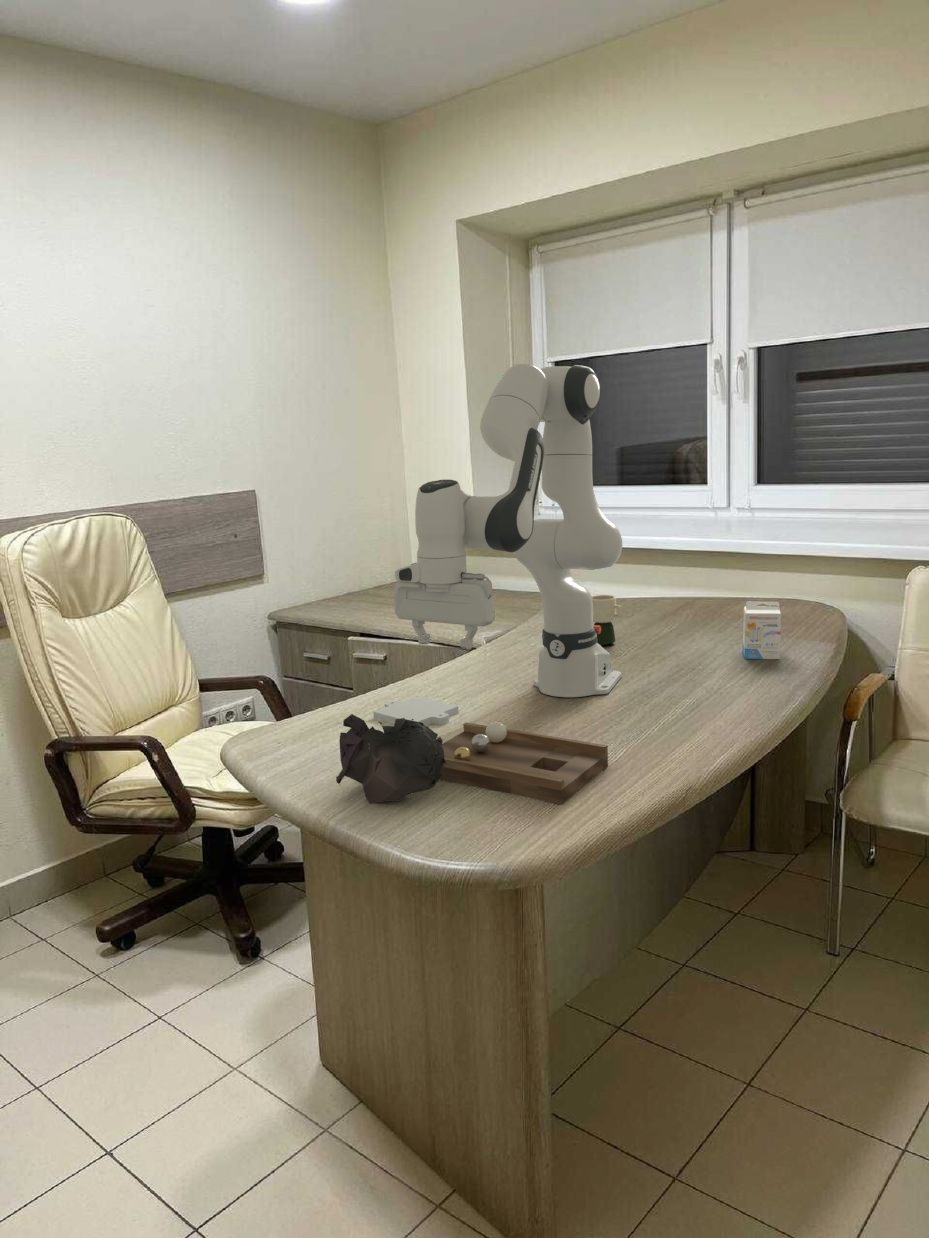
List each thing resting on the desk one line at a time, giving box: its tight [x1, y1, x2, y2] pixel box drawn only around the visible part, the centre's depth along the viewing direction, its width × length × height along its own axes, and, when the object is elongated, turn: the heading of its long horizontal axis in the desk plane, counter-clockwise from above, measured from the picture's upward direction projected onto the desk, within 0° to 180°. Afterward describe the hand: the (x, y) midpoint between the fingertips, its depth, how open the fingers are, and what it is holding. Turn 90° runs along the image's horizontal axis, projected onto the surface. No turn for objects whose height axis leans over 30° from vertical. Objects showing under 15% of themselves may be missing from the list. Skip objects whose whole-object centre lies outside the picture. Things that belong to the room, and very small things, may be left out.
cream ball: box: [485, 721, 507, 743], centre depth 170 cm, size 4×4×4 cm
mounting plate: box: [372, 695, 460, 727], centre depth 196 cm, size 18×13×2 cm
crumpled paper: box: [335, 713, 446, 804], centre depth 153 cm, size 14×15×20 cm
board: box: [440, 722, 609, 806], centre depth 163 cm, size 18×30×4 cm, turn 57°
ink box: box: [741, 600, 782, 660], centre depth 226 cm, size 9×8×13 cm
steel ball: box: [471, 734, 490, 753], centre depth 166 cm, size 3×3×3 cm
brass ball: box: [454, 747, 471, 761], centre depth 161 cm, size 3×3×3 cm
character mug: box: [591, 594, 622, 646], centre depth 245 cm, size 11×7×13 cm, turn 53°
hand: (445, 646), depth 167 cm, fingers open, 8 cm apart
